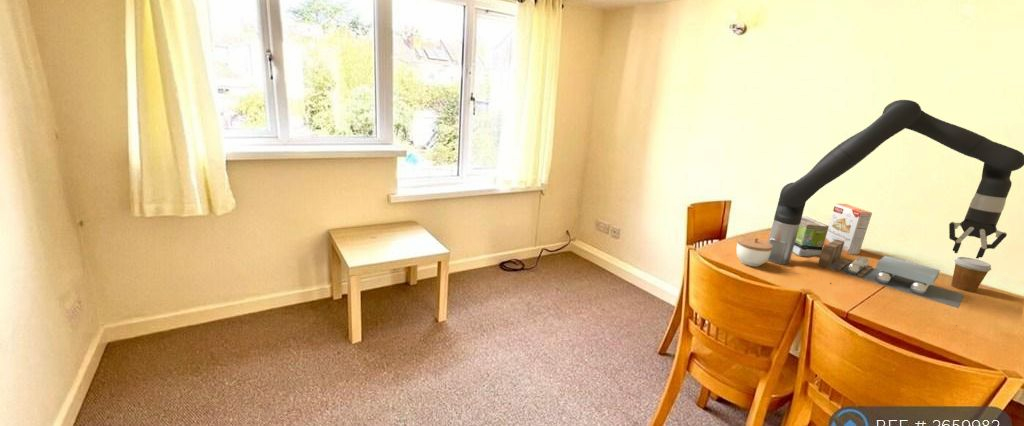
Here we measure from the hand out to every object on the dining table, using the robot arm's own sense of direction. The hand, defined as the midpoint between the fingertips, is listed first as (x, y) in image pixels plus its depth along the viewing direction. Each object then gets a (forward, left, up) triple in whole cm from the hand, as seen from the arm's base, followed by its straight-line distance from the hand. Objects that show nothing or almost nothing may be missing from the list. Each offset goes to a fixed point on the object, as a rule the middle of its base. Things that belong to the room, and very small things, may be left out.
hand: (966, 255), depth 146 cm
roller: (0, +28, -16) cm, 33 cm away
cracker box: (+26, +39, -18) cm, 50 cm away
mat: (0, +16, -17) cm, 24 cm away
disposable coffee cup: (+17, -2, -18) cm, 25 cm away
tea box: (+7, +50, -18) cm, 53 cm away
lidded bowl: (-30, +56, -18) cm, 66 cm away
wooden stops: (0, +31, -17) cm, 35 cm away
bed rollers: (0, +13, -16) cm, 21 cm away
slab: (0, +13, -12) cm, 18 cm away
